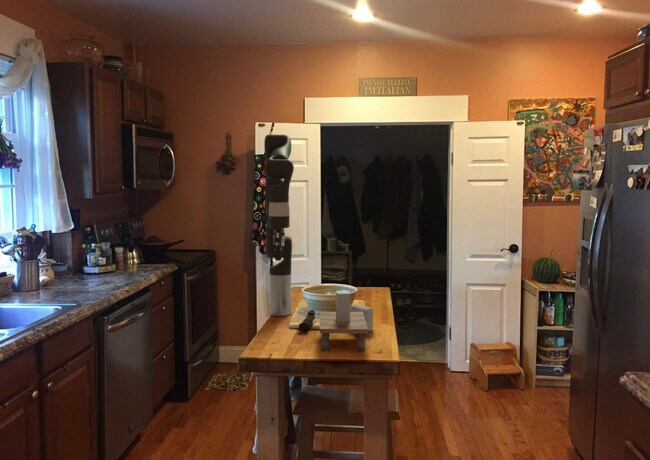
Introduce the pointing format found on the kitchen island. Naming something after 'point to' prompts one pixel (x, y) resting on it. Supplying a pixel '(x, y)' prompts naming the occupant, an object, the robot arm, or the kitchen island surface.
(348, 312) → the upright block
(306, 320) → the hand tool
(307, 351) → the kitchen island surface
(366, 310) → the medicine box
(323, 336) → the peg shelf
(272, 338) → the kitchen island surface
